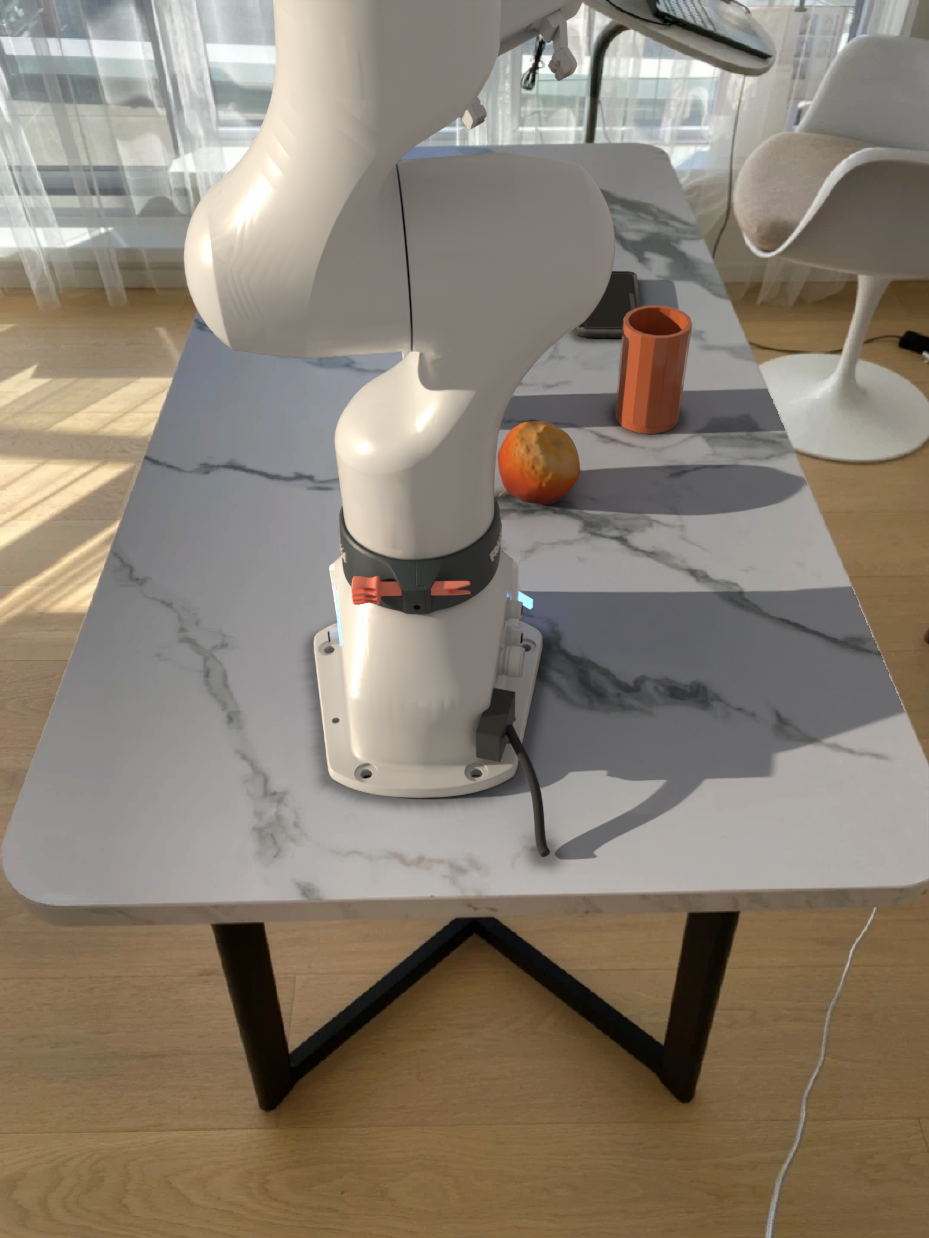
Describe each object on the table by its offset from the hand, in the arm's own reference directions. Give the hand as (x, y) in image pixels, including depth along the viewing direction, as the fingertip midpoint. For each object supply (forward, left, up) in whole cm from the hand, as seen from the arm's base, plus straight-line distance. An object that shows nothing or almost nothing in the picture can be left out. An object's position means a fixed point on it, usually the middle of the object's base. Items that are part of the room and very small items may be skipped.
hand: (524, 98), depth 88 cm
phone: (+25, -12, -32) cm, 43 cm away
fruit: (-12, -2, -32) cm, 35 cm away
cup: (+1, -14, -32) cm, 35 cm away
